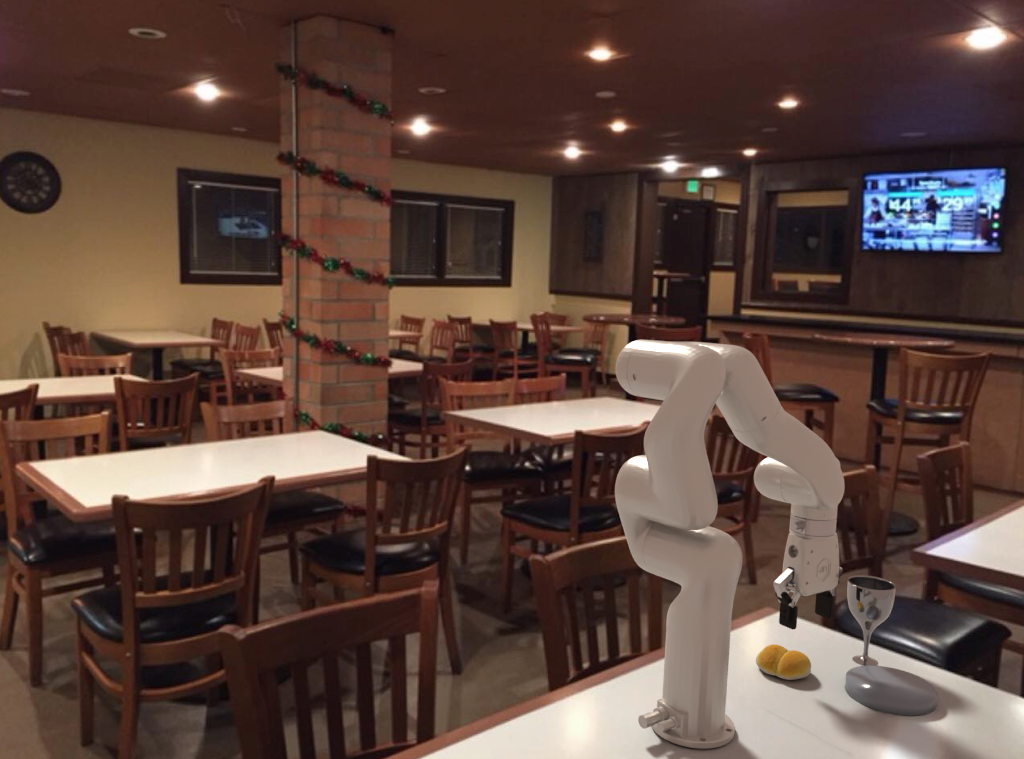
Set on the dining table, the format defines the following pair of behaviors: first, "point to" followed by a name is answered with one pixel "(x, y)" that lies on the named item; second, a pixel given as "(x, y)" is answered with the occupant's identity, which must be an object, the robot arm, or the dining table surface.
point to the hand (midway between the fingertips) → (805, 621)
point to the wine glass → (869, 607)
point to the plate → (891, 690)
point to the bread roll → (783, 662)
